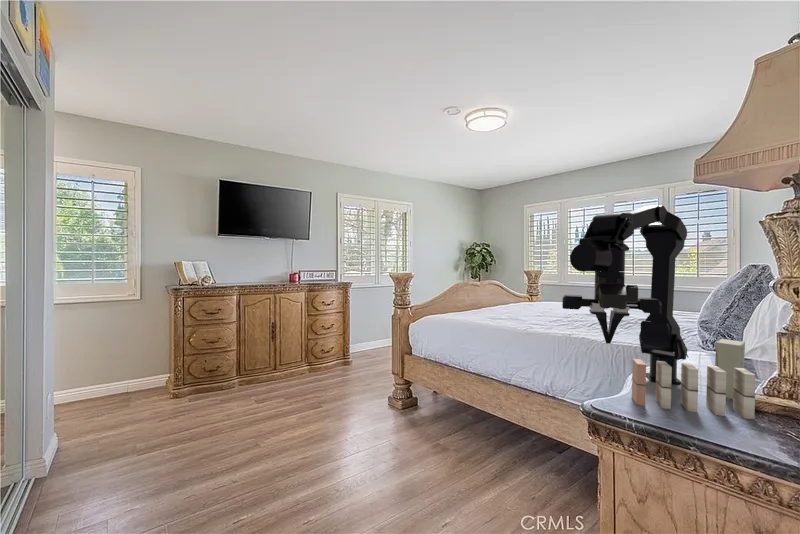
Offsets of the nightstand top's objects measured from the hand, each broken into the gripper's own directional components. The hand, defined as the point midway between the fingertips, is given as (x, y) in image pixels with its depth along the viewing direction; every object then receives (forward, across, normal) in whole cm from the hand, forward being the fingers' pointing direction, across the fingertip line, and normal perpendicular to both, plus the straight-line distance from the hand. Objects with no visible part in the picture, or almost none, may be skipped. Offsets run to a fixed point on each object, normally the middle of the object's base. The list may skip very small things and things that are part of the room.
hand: (608, 343), depth 87 cm
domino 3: (+12, +24, 0) cm, 27 cm away
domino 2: (+12, +15, 0) cm, 19 cm away
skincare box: (+12, +26, +13) cm, 31 cm away
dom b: (+12, +10, 0) cm, 16 cm away
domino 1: (+12, +6, 0) cm, 13 cm away
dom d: (+12, +20, 0) cm, 23 cm away
